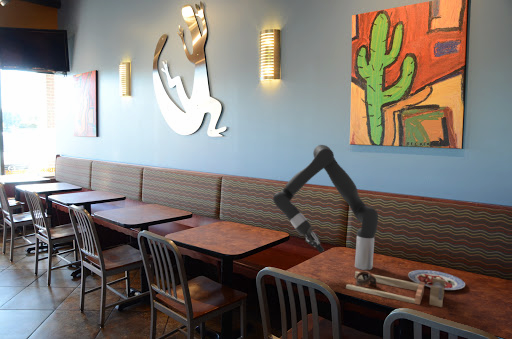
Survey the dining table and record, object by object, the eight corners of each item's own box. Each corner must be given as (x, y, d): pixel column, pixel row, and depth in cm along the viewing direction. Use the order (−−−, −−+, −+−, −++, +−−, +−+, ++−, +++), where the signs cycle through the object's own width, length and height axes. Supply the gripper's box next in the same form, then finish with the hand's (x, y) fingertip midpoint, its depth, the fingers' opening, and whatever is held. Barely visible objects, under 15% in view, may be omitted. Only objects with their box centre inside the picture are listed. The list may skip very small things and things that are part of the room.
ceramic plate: (408, 287, 190) (408, 281, 190) (407, 271, 214) (407, 265, 214) (468, 297, 181) (469, 291, 181) (460, 278, 205) (461, 273, 205)
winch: (431, 294, 182) (433, 275, 181) (443, 297, 180) (445, 277, 179) (428, 306, 169) (430, 286, 168) (441, 309, 166) (443, 288, 165)
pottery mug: (380, 291, 184) (374, 277, 182) (361, 298, 186) (355, 284, 184) (375, 276, 196) (369, 263, 193) (357, 282, 198) (350, 269, 195)
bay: (355, 276, 201) (356, 269, 201) (423, 290, 186) (424, 282, 186) (346, 288, 185) (346, 280, 185) (419, 304, 170) (420, 295, 170)
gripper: (301, 221, 196) (323, 250, 192) (310, 217, 208) (331, 244, 203) (290, 230, 199) (312, 259, 195) (300, 225, 211) (321, 252, 206)
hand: (322, 251), depth 199 cm, fingers closed
